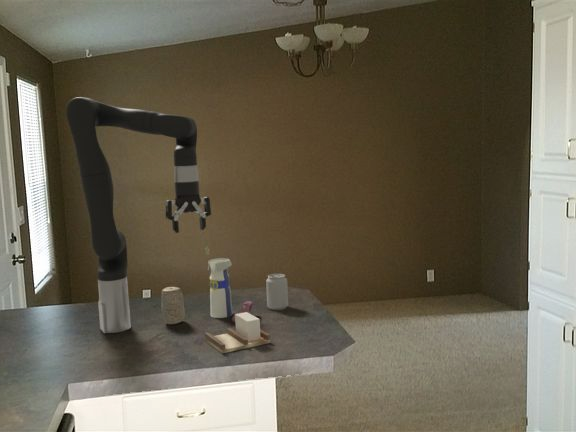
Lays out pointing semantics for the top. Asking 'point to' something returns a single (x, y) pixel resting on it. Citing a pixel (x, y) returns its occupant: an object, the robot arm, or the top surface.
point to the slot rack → (234, 341)
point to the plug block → (247, 326)
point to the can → (277, 292)
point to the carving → (172, 305)
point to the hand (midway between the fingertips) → (189, 231)
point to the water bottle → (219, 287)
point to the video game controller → (245, 308)
